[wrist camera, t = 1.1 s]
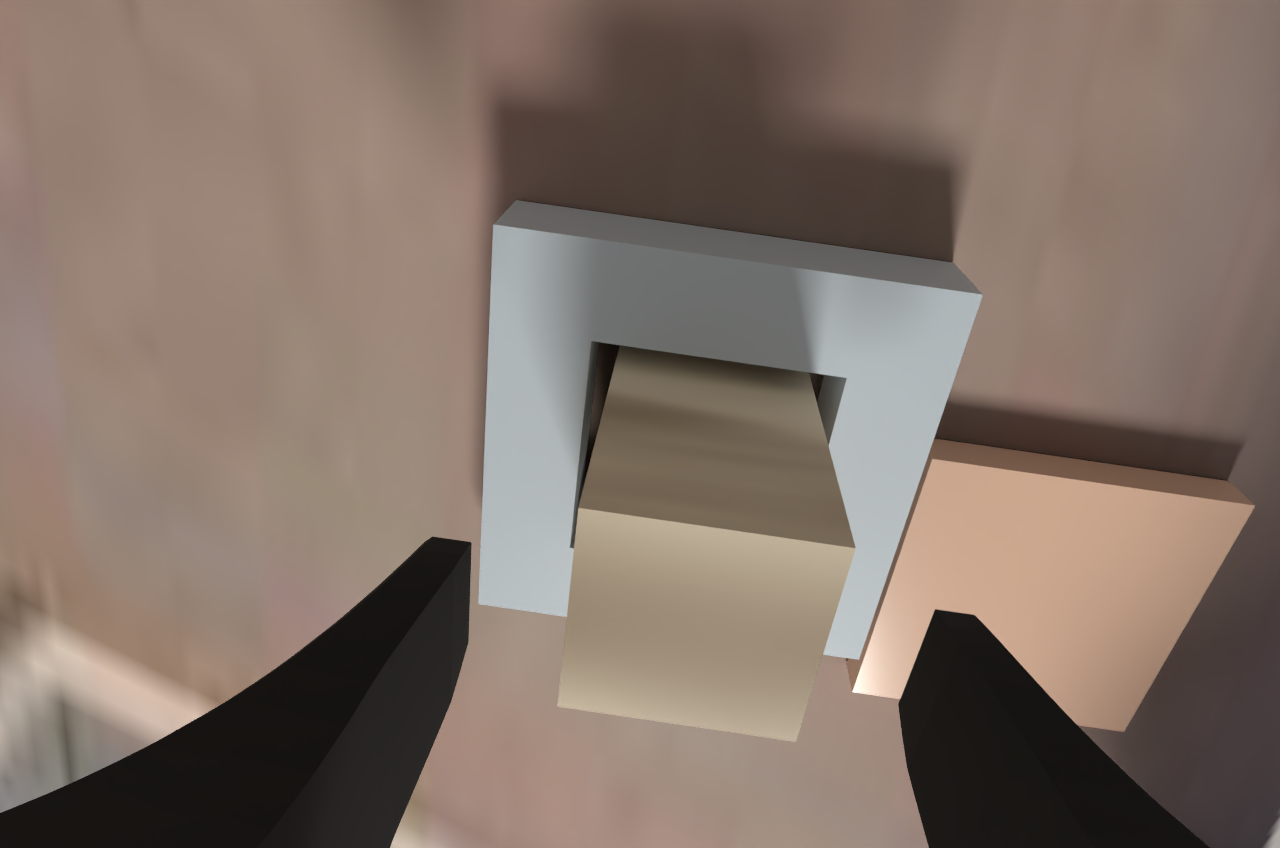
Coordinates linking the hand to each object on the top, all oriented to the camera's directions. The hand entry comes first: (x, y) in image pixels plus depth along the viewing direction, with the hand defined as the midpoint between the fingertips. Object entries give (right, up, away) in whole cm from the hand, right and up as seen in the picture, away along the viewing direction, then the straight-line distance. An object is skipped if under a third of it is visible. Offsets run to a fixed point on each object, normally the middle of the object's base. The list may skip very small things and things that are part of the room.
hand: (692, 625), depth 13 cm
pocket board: (+1, +3, +6) cm, 7 cm away
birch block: (+1, +3, +6) cm, 7 cm away
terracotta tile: (+9, -1, +7) cm, 11 cm away
